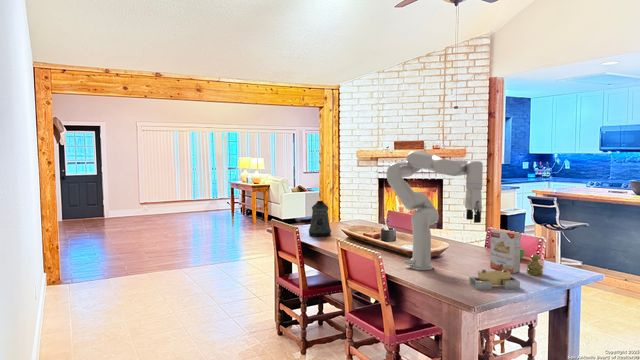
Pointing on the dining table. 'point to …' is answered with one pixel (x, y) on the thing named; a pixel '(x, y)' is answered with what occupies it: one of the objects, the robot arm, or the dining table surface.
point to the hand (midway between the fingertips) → (473, 221)
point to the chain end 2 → (511, 284)
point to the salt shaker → (535, 266)
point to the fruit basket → (521, 252)
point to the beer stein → (320, 221)
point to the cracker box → (505, 250)
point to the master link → (494, 276)
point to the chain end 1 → (480, 284)
